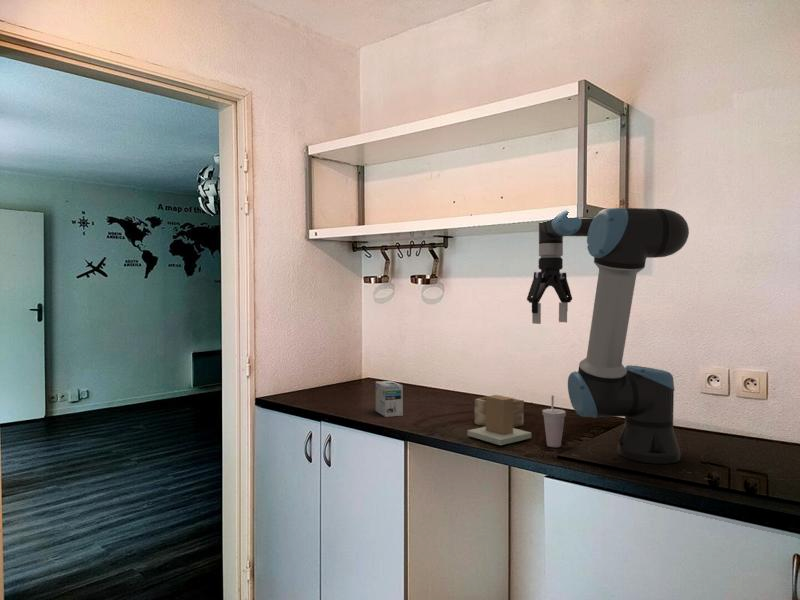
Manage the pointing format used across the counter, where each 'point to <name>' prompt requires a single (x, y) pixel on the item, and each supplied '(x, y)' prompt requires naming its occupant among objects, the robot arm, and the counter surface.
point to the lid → (499, 423)
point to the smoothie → (554, 425)
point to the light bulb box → (389, 398)
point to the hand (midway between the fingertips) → (549, 323)
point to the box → (481, 411)
